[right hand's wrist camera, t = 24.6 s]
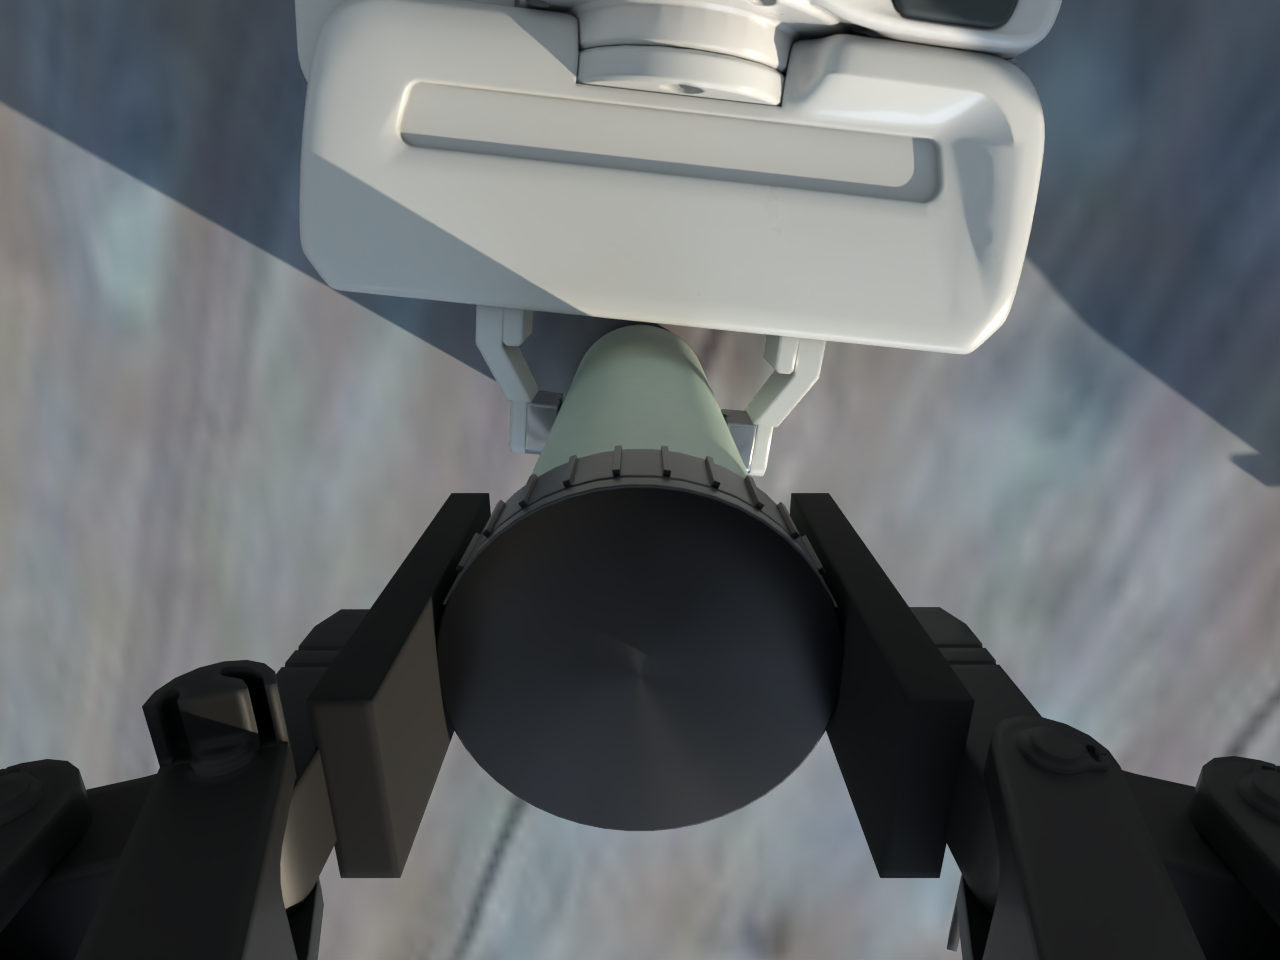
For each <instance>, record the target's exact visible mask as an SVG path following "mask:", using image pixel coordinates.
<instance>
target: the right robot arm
mask: <svg viewBox="0 0 1280 960" xmlns="http://www.w3.org/2000/svg"><path fill="white" fill-rule="evenodd" d="M490 517H491V512H490V500H489V493H451V495H450V496H449V498H448V499H447V501H446V502H445V503H444V505H443V506H442V508H441V509H440V511H439V512H438V513H437V515H436V516H435V518H434V519H433V520H432V522H431V523H430V525H429V526H428V528H427V529H426V530H425V532H424V533H423V535H422V536H421V538H420V539H419V540H418V542H417V543H416V545H415V546H414V547H413V549H412V550H411V552H410V553H409V555H408V556H407V557H406V559H405V560H404V562H403V563H402V565H401V566H400V567H399V569H398V570H397V572H396V573H395V574H394V576H393V577H392V579H391V580H390V582H389V583H388V584H387V586H386V587H385V589H384V590H383V592H382V593H381V594H380V596H379V597H378V599H377V600H376V602H375V603H374V604H373V606H372V607H371V609H341V610H340V611H338V612H337V613H335V614H333V615H332V616H330V617H329V618H327V619H326V620H324V621H323V622H321V623H319V624H318V625H316V626H315V627H314V628H313V629H312V631H311V632H310V633H309V634H308V636H307V637H306V638H305V639H304V640H303V642H302V643H301V644H300V645H299V649H298V650H295V652H294V653H293V654H292V655H291V656H290V658H289V659H288V660H287V661H286V663H285V667H282V668H281V669H280V670H279V671H278V673H277V674H275V671H274V670H272V669H271V668H270V667H268V666H267V665H266V664H265V663H260V662H254V661H249V660H240V661H224V662H220V663H216V664H212V665H208V666H204V667H200V668H197V669H195V670H193V671H191V672H188V673H186V674H184V675H181V676H179V677H177V678H175V679H173V680H172V681H170V682H169V683H167V684H166V685H164V686H163V687H161V688H160V689H158V690H157V691H155V692H154V693H153V694H152V696H151V697H150V698H149V699H148V700H147V701H146V703H145V704H144V705H143V706H142V708H143V711H144V715H145V718H146V721H147V725H148V728H149V731H150V735H151V738H152V742H153V745H154V748H155V752H156V755H157V758H158V762H159V765H160V769H159V771H158V773H157V774H154V775H150V776H147V777H143V778H138V779H134V780H129V781H124V782H120V783H115V784H111V785H106V786H101V787H97V788H92V789H88V790H86V789H85V786H84V783H83V780H82V777H81V774H80V771H79V769H78V768H76V767H75V766H74V765H72V764H71V763H70V762H68V761H62V760H52V759H45V760H39V761H33V762H26V763H21V764H18V765H14V766H10V767H7V768H6V769H1V770H0V960H317V959H318V951H319V942H320V933H321V924H322V916H323V907H324V904H323V897H322V890H321V885H320V880H319V875H320V873H321V871H322V869H323V867H324V865H325V863H326V861H327V859H328V857H329V855H330V853H331V851H332V849H333V847H334V846H335V851H336V856H337V861H338V866H339V871H340V876H341V878H400V877H401V874H402V872H403V869H404V866H405V863H406V861H407V858H408V855H409V853H410V850H411V847H412V844H413V842H414V839H415V836H416V833H417V831H418V828H419V825H420V823H421V820H422V817H423V814H424V812H425V809H426V806H427V804H428V801H429V798H430V795H431V793H432V790H433V787H434V785H435V782H436V779H437V776H438V774H439V771H440V768H441V765H442V763H443V760H444V757H445V755H446V752H447V749H448V746H449V744H450V741H451V738H452V736H453V733H454V729H453V726H452V724H451V722H450V720H449V717H448V715H447V713H446V711H445V708H444V705H443V701H442V695H441V688H440V680H439V671H438V663H437V652H436V640H437V635H438V630H439V624H440V619H441V616H442V613H443V610H442V609H441V608H442V604H443V602H444V600H445V598H446V596H447V594H448V592H449V590H450V589H451V587H452V585H453V583H454V581H455V579H456V577H457V575H458V573H459V571H457V570H456V568H457V566H458V565H459V563H460V561H461V559H462V557H463V555H464V553H465V551H466V550H467V548H468V546H469V544H470V542H471V540H472V538H473V537H474V535H475V533H478V534H480V535H481V533H482V531H483V529H484V528H485V526H486V524H487V522H488V520H489V519H490ZM790 517H791V519H792V521H793V523H794V525H795V527H796V529H797V530H798V532H799V534H800V537H802V536H804V535H806V537H807V539H808V540H809V542H810V544H811V546H812V548H813V550H814V552H815V554H816V555H817V557H818V559H819V561H820V563H821V565H822V567H823V568H824V570H825V573H823V574H821V575H822V577H823V578H824V580H825V582H826V584H827V586H828V588H829V590H830V592H831V594H832V596H833V598H834V600H835V602H836V604H837V605H838V608H839V612H838V616H839V619H840V625H841V630H842V635H843V640H844V657H843V667H842V675H841V684H840V691H839V697H838V701H837V705H836V708H835V711H834V713H833V715H832V717H831V720H830V722H829V724H828V727H827V729H826V732H827V734H828V737H829V740H830V743H831V745H832V748H833V751H834V753H835V756H836V759H837V762H838V764H839V767H840V770H841V773H842V775H843V778H844V781H845V783H846V786H847V789H848V792H849V794H850V797H851V800H852V802H853V805H854V808H855V811H856V813H857V816H858V819H859V821H860V824H861V827H862V830H863V832H864V835H865V838H866V841H867V843H868V846H869V849H870V851H871V854H872V857H873V860H874V862H875V865H876V868H877V870H878V873H879V876H880V878H940V873H941V868H942V863H943V858H944V853H945V848H946V843H947V844H948V846H949V848H950V850H951V853H952V855H953V857H954V859H955V861H956V863H957V865H958V867H959V869H960V871H961V873H962V876H961V880H960V885H959V890H958V894H957V899H956V904H955V908H954V913H953V918H952V922H951V927H950V932H949V938H948V945H947V949H949V950H952V951H956V952H957V948H958V943H959V939H960V940H961V949H962V958H963V960H1280V766H1276V765H1275V764H1272V763H1268V762H1264V761H1261V760H1255V759H1249V758H1243V757H1237V756H1230V757H1220V758H1214V759H1212V760H1211V761H1209V762H1208V763H1207V764H1205V765H1204V766H1203V767H1202V770H1201V773H1200V776H1199V779H1198V782H1197V785H1196V787H1193V786H1188V785H1184V784H1179V783H1175V782H1170V781H1165V780H1161V779H1156V778H1152V777H1147V776H1142V775H1138V774H1134V773H1130V772H1127V771H1123V770H1122V769H1121V767H1120V766H1119V764H1118V763H1117V761H1116V760H1115V759H1114V757H1113V756H1112V755H1111V753H1110V752H1109V750H1107V749H1106V748H1105V747H1103V746H1102V745H1101V744H1100V743H1098V742H1097V741H1096V740H1094V739H1093V738H1092V737H1091V736H1089V735H1087V734H1085V733H1083V732H1081V731H1079V730H1077V729H1075V728H1073V727H1071V726H1069V725H1067V724H1064V723H1060V722H1057V721H1053V720H1050V719H1046V718H1043V717H1041V715H1040V714H1039V713H1038V712H1037V710H1036V709H1035V708H1034V707H1033V706H1032V704H1031V703H1030V702H1029V701H1028V699H1027V698H1026V697H1025V696H1024V695H1023V693H1022V692H1021V691H1020V690H1019V688H1018V687H1017V686H1016V685H1015V684H1014V682H1013V681H1012V680H1011V679H1010V677H1009V676H1008V675H1007V674H1006V673H1005V671H1004V670H1003V669H1002V668H1001V666H1000V665H996V660H995V659H994V658H993V657H992V655H991V654H990V653H989V652H988V650H987V649H986V648H983V647H982V643H981V642H980V641H979V639H978V638H977V637H976V636H975V635H974V633H973V632H972V631H971V630H970V628H969V627H968V626H967V625H966V624H965V623H963V622H962V621H960V620H959V619H957V618H956V617H954V616H952V615H951V614H949V613H948V612H946V611H945V610H943V609H942V608H940V607H908V605H907V604H906V602H905V601H904V599H903V598H902V597H901V595H900V594H899V592H898V591H897V589H896V588H895V587H894V585H893V584H892V582H891V581H890V580H889V578H888V577H887V575H886V574H885V572H884V571H883V570H882V568H881V567H880V565H879V564H878V562H877V561H876V560H875V558H874V557H873V555H872V554H871V553H870V551H869V550H868V548H867V547H866V545H865V544H864V543H863V541H862V540H861V538H860V537H859V535H858V534H857V533H856V531H855V530H854V528H853V527H852V526H851V524H850V523H849V521H848V520H847V518H846V517H845V516H844V514H843V513H842V511H841V510H840V508H839V507H838V506H837V504H836V503H835V501H834V500H833V499H832V497H831V496H830V494H829V493H791V505H790Z"/></svg>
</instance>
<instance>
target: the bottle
mask: <svg viewBox="0 0 1280 960" xmlns="http://www.w3.org/2000/svg"><path fill="white" fill-rule="evenodd" d="M619 445H621V446H622V450H624V449H656V450H661V446H668V449H669V451H672V452H679V453H683V454H687V455H691V456H695V457H698V458H702V459H706V456H710V457H713V460H714V463H715V464H717V465H720V466H722V467H725V468H727V469H729V470H731V471H732V472H734V473H736V474H738V475H739V476H741V477H743V478H745V477H746V476H747V475H748V472H747V470H746V468H745V465H744V463H743V461H742V459H741V456H740V454H739V452H738V449H737V447H736V445H735V442H734V440H733V438H732V436H731V433H730V431H729V429H728V426H727V424H726V422H725V420H724V417H723V415H722V413H721V410H720V408H719V406H718V403H717V401H716V399H715V397H714V394H713V392H712V390H711V387H710V385H709V383H708V380H707V378H706V376H705V374H704V371H703V369H702V367H701V364H700V362H699V360H698V359H697V357H696V355H695V354H694V352H693V351H692V349H691V348H690V347H689V346H688V345H687V344H686V343H685V342H684V341H683V340H681V339H680V338H679V337H678V336H676V335H674V334H673V333H671V332H669V331H667V330H664V329H662V328H658V327H655V326H649V325H631V326H626V327H622V328H618V329H616V330H613V331H611V332H609V333H607V334H606V335H604V336H602V337H601V338H600V339H599V340H597V341H596V342H595V343H594V344H593V345H592V346H591V347H590V348H589V350H588V351H587V352H586V354H585V355H584V357H583V359H582V360H581V362H580V365H579V367H578V369H577V372H576V374H575V376H574V378H573V381H572V383H571V385H570V388H569V390H568V392H567V394H566V397H565V399H564V401H563V404H562V406H561V408H560V411H559V413H558V415H557V417H556V420H555V422H554V424H553V427H552V429H551V431H550V434H549V436H548V438H547V440H546V443H545V445H544V447H543V450H542V452H541V454H540V456H539V459H538V461H537V463H536V466H535V468H534V470H533V473H532V475H533V474H534V473H535V474H536V475H537V477H539V476H540V475H542V474H544V473H546V472H548V471H549V470H551V469H553V468H555V467H557V466H560V465H562V464H565V463H568V461H569V458H570V456H573V455H576V456H577V458H581V457H585V456H589V455H593V454H597V453H601V452H608V451H614V449H615V446H619Z"/></svg>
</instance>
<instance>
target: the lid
mask: <svg viewBox="0 0 1280 960" xmlns="http://www.w3.org/2000/svg"><path fill="white" fill-rule="evenodd" d="M456 570H457V571H459V573H458V575H457V577H456V579H455V581H454V583H453V585H452V587H451V589H450V590H449V592H448V594H447V596H446V598H445V600H444V602H443V604H442V608H441V609H442V610H443V613H442V616H441V619H440V624H439V630H438V635H437V640H436V652H437V663H438V671H439V680H440V688H441V695H442V701H443V705H444V708H445V711H446V713H447V715H448V717H449V720H450V722H451V724H452V726H453V729H454V730H455V732H456V734H457V735H458V737H459V738H460V740H461V742H462V743H463V745H464V747H465V748H466V749H467V751H468V752H469V753H470V754H471V755H472V757H473V758H474V759H475V760H476V762H477V763H478V764H479V765H480V766H481V767H482V768H483V769H484V770H485V771H486V772H487V773H488V774H489V775H490V776H491V777H492V778H494V779H495V780H496V781H497V782H498V783H499V784H501V785H502V786H503V787H505V788H506V789H508V790H509V791H510V792H512V793H513V794H514V795H516V796H517V797H519V798H521V799H523V800H524V801H526V802H528V803H530V804H531V805H533V806H535V807H537V808H539V809H542V810H544V811H546V812H548V813H551V814H553V815H555V816H558V817H561V818H564V819H567V820H570V821H573V822H577V823H580V824H584V825H589V826H594V827H599V828H604V829H614V830H624V831H656V830H666V829H676V828H681V827H686V826H691V825H696V824H700V823H703V822H707V821H710V820H713V819H716V818H719V817H723V816H725V815H727V814H729V813H732V812H734V811H736V810H739V809H741V808H743V807H745V806H747V805H749V804H750V803H752V802H754V801H756V800H757V799H759V798H761V797H763V796H764V795H766V794H767V793H768V792H770V791H771V790H773V789H774V788H775V787H777V786H778V785H779V784H781V783H782V782H783V781H784V780H785V779H787V778H788V777H789V776H790V775H791V774H792V773H793V772H794V771H795V770H796V769H797V768H798V767H799V766H800V765H801V764H802V763H803V762H804V760H805V759H806V758H807V757H808V755H809V754H810V753H811V752H812V751H813V749H814V748H815V747H816V745H817V743H818V742H819V740H820V739H821V737H822V735H823V734H824V732H825V730H826V729H827V727H828V724H829V722H830V720H831V717H832V715H833V713H834V711H835V708H836V705H837V701H838V697H839V691H840V684H841V675H842V667H843V657H844V640H843V635H842V630H841V625H840V619H839V616H838V612H839V608H838V605H837V604H836V602H835V600H834V598H833V596H832V594H831V592H830V590H829V588H828V586H827V584H826V582H825V580H824V578H823V577H822V575H821V574H823V573H825V570H824V568H823V567H822V565H821V563H820V561H819V559H818V557H817V555H816V554H815V552H814V550H813V548H812V546H811V544H810V542H809V540H808V539H807V537H806V535H804V536H802V537H800V534H799V532H798V530H797V529H796V527H795V525H794V523H793V521H792V519H791V517H790V515H789V513H788V511H787V509H786V507H785V506H784V504H783V503H782V502H780V503H779V504H778V505H777V504H776V503H775V502H774V501H773V500H772V499H771V498H770V497H769V496H768V495H766V494H765V493H764V492H763V491H761V490H760V489H759V488H757V487H756V485H755V482H754V480H753V478H752V477H750V476H749V475H747V476H746V477H745V478H743V477H741V476H739V475H738V474H736V473H734V472H732V471H731V470H729V469H727V468H725V467H722V466H720V465H717V464H715V463H714V460H713V457H710V456H706V459H702V458H698V457H695V456H691V455H687V454H683V453H679V452H672V451H669V449H668V446H661V450H656V449H624V450H622V446H621V445H619V446H615V449H614V451H608V452H601V453H597V454H593V455H589V456H585V457H581V458H577V456H576V455H573V456H570V458H569V461H568V463H565V464H562V465H560V466H557V467H555V468H553V469H551V470H549V471H548V472H546V473H544V474H542V475H540V476H539V477H537V475H536V474H535V473H534V474H533V475H531V476H530V477H529V480H528V482H527V484H526V485H525V486H524V487H523V488H521V489H520V490H519V491H517V492H516V493H515V494H514V495H512V496H511V497H510V498H509V499H508V500H507V501H506V502H505V503H504V502H503V501H502V500H500V501H499V502H498V503H497V505H496V507H495V509H494V511H493V513H492V515H491V517H490V519H489V520H488V522H487V524H486V526H485V528H484V529H483V531H482V533H481V535H480V534H478V533H475V535H474V537H473V538H472V540H471V542H470V544H469V546H468V548H467V550H466V551H465V553H464V555H463V557H462V559H461V561H460V563H459V565H458V566H457V568H456Z"/></svg>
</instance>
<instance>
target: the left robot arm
mask: <svg viewBox="0 0 1280 960" xmlns="http://www.w3.org/2000/svg"><path fill="white" fill-rule="evenodd" d="M1061 4H1062V0H295V15H296V33H297V50H298V57H299V62H300V66H301V69H302V72H303V75H304V78H305V80H306V82H307V93H306V101H305V111H304V121H303V132H302V146H301V162H300V194H299V224H300V240H301V246H302V249H303V252H304V254H305V256H306V257H307V258H308V260H309V261H310V263H311V264H312V265H313V267H314V268H315V269H316V271H317V272H318V273H319V275H320V276H321V277H322V279H323V280H324V281H325V282H326V283H327V284H328V286H330V287H331V288H333V289H336V290H341V291H349V292H359V293H369V294H379V295H388V296H398V297H408V298H417V299H427V300H437V301H447V302H456V303H466V304H476V345H477V347H478V348H479V350H480V352H481V354H482V356H483V358H484V359H485V361H486V363H487V365H488V367H489V369H490V370H491V372H492V374H493V376H494V378H495V380H496V381H497V383H498V385H499V387H500V389H501V390H502V392H503V394H504V396H505V398H506V400H508V401H511V414H510V442H509V446H510V452H515V453H521V454H526V453H527V454H539V455H540V454H541V452H542V450H543V447H544V445H545V443H546V440H547V438H548V436H549V434H550V431H551V429H552V427H553V424H554V422H555V420H556V417H557V415H558V413H559V411H560V408H561V406H562V404H563V393H555V392H546V391H539V387H538V385H537V383H536V381H535V379H534V377H533V375H532V373H531V371H530V369H529V367H528V365H527V363H526V360H525V358H524V356H523V354H522V352H521V350H520V348H519V345H520V344H522V343H523V342H524V341H525V340H526V339H527V338H528V337H529V336H530V335H531V334H532V325H533V310H534V311H544V312H554V313H563V314H573V315H583V316H593V317H602V318H612V319H622V320H632V321H641V322H651V323H661V324H670V325H680V326H690V327H700V328H709V329H719V330H729V331H739V332H748V333H758V334H767V337H766V344H765V351H764V358H765V359H766V361H767V362H768V363H769V364H770V365H771V366H772V367H773V368H774V369H775V371H774V372H773V374H772V375H771V376H770V378H769V379H768V380H767V381H766V383H765V384H764V385H763V387H762V388H761V389H760V391H759V392H758V393H757V395H756V396H755V397H754V399H753V400H752V401H751V402H750V404H749V405H748V406H747V408H746V409H745V410H746V411H739V410H726V409H721V413H722V415H723V417H724V420H725V422H726V424H727V426H728V429H729V431H730V433H731V436H732V438H733V440H734V442H735V445H736V447H737V449H738V452H739V454H740V456H741V459H742V461H743V463H744V465H745V468H746V470H747V472H748V475H753V476H763V475H764V473H765V470H766V466H767V460H768V454H769V449H770V443H771V437H772V431H773V427H778V426H779V424H780V423H781V422H782V421H783V420H784V419H785V417H786V416H787V415H788V414H789V413H790V411H791V410H792V409H793V408H794V407H795V406H796V404H797V403H798V402H799V401H800V400H801V399H802V397H803V396H804V395H805V394H806V393H807V392H808V390H809V389H810V388H811V387H812V386H813V385H814V383H815V382H816V381H817V380H818V379H819V375H820V370H821V365H822V360H823V355H824V350H825V345H826V341H836V342H846V343H855V344H865V345H875V346H885V347H894V348H904V349H914V350H923V351H933V352H943V353H953V354H968V353H970V352H972V351H974V350H975V349H976V348H978V347H979V346H980V345H981V344H982V343H983V342H985V341H986V340H987V339H988V338H989V337H990V336H991V335H992V334H993V333H994V332H995V331H996V330H997V329H998V328H999V327H1001V325H1002V324H1003V323H1004V321H1005V320H1006V318H1007V316H1008V314H1009V311H1010V309H1011V306H1012V303H1013V300H1014V297H1015V293H1016V290H1017V286H1018V282H1019V279H1020V275H1021V271H1022V267H1023V263H1024V259H1025V255H1026V250H1027V246H1028V241H1029V236H1030V232H1031V227H1032V222H1033V216H1034V211H1035V205H1036V200H1037V194H1038V188H1039V181H1040V175H1041V168H1042V161H1043V154H1044V140H1045V127H1044V115H1043V109H1042V105H1041V101H1040V98H1039V95H1038V92H1037V90H1036V88H1035V87H1034V85H1033V83H1032V81H1031V80H1030V79H1029V77H1028V76H1027V75H1026V74H1025V73H1024V72H1023V71H1022V70H1021V69H1019V68H1018V67H1017V66H1016V65H1014V64H1013V63H1011V62H1009V61H1010V60H1012V59H1013V58H1015V57H1017V56H1019V55H1020V54H1022V53H1024V52H1025V51H1027V50H1028V49H1030V48H1031V47H1033V46H1034V45H1036V44H1037V43H1039V42H1040V41H1041V40H1043V39H1044V38H1045V37H1046V35H1047V34H1048V33H1049V31H1050V30H1051V28H1052V26H1053V25H1054V22H1055V20H1056V18H1057V15H1058V12H1059V10H1060V7H1061Z"/></svg>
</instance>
